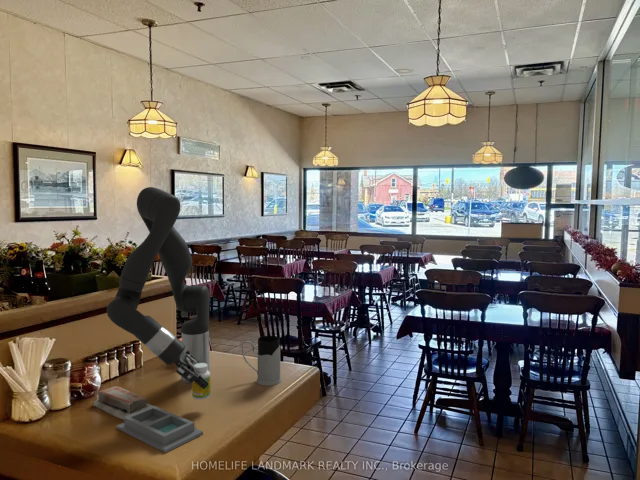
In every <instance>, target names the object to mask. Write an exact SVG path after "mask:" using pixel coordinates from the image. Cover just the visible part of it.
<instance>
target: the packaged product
mask: <svg viewBox="0 0 640 480" xmlns="http://www.w3.org/2000/svg"><path fill="white" fill-rule="evenodd" d="M97 395H98V397H97V400H95V401H93V404H92V405H94V406H93V407H95V406H96V407H95V408H97V407H98V409H99V408H100V410H101V409H102V411H103V410H104V411H103V412H105V411H106V412H105V413H107V414H109V415H111V416H113V417H116V418H118V419H121V420H123V421H124V418H125V417H127V416H130V415H132V414H135V413H137V412H140V411H142V410H145V409H147V408H150V407H152V406H153V405H152V404H150V403H148V398H146V397H145V396H142V395H140V394H137V393H134V392H132V391H130V390H127V389H125V388H123V387H121V386H115V385H114V386H113V385H112V386H111V387H108V388H105V389H101V390H100V391H99V392H98V394H97Z"/></svg>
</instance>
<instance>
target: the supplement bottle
mask: <svg viewBox="0 0 640 480" xmlns="http://www.w3.org/2000/svg"><path fill="white" fill-rule="evenodd" d="M194 366H195V368H196V371H197V373H198V374H199V375H200V376H201V377H203V378H204V379H205V380H206V381H207V382H208V383H209V384H208V386H207V387H206V388H205V389H203V388H201V387H200V386H199V385H198V384H197V383H196V382H195V381H194V382H192V384H191V394H192V395H191V396H192V398H193V399H195V400H199V401H201V400H206V399H208V398H209V397H211V393H212V392H211V387H212V386H211V371H210V372H209V371H208V365H207V364H206V363H198V364H195V365H194ZM193 373H194V372H193Z"/></svg>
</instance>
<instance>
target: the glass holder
mask: <svg viewBox="0 0 640 480" xmlns="http://www.w3.org/2000/svg"><path fill="white" fill-rule="evenodd" d="M245 343H249V344H250V345H251V346H252V351H253V353H254V354H255V355H257V369H256V367H255V366H253V365H252V364H251V363H250V362H249V361H248V360H247V358H246V356H245V354H244V344H245ZM241 354H242V357H243V359H244V362H245V363H246V364H247V365H248V366H250V367H251V368H252V369H253V370H254V371H255V372H256V373H257V374H256V375H257V379H256V383H257V384H258V385H261V386H276V385H278V384H280V383H282V381H283V380H282V378H281V345H280V337H279V336H276V335H263V336H259V337H258V338H257V352H256V351H255V346H254V343H253V342H252V341H249V340H246V341H244V342H242V344H241Z"/></svg>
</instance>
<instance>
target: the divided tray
mask: <svg viewBox="0 0 640 480" xmlns="http://www.w3.org/2000/svg"><path fill="white" fill-rule="evenodd" d="M116 429H117V430H119V431H121V432H123V433H125V434H127V435H129V436H131V437H133V438H135V439H138V440H139V441H141V442H143V443H145V444H147V445H149V446H151V447H152V448H154V449H157V450H159V451H161V452H162V453H164V454H166V453H168V452H171V451H172V450H174V449H177V448H178V447H180V446H182V445H185V444H186V443H188V442H191V441H192V440H194V439H196V438H199V437H200V436H203V434H204V430H203V431H202V430H201V429H199V428H196V427H195V422H194V421H191V420H189V419H186V418H184V417H182V416H179V415H178V414H175V413H173V412H171V411H167V410H165V409H163V408H161V407H158V406H156V405H152V407H150V408H147V409H145V410H142V411H140V412H137V413H135V414H132V415H130V416H127V417H125V418H124V420H123V422H122V423H119V424H117V425H116Z"/></svg>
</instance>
